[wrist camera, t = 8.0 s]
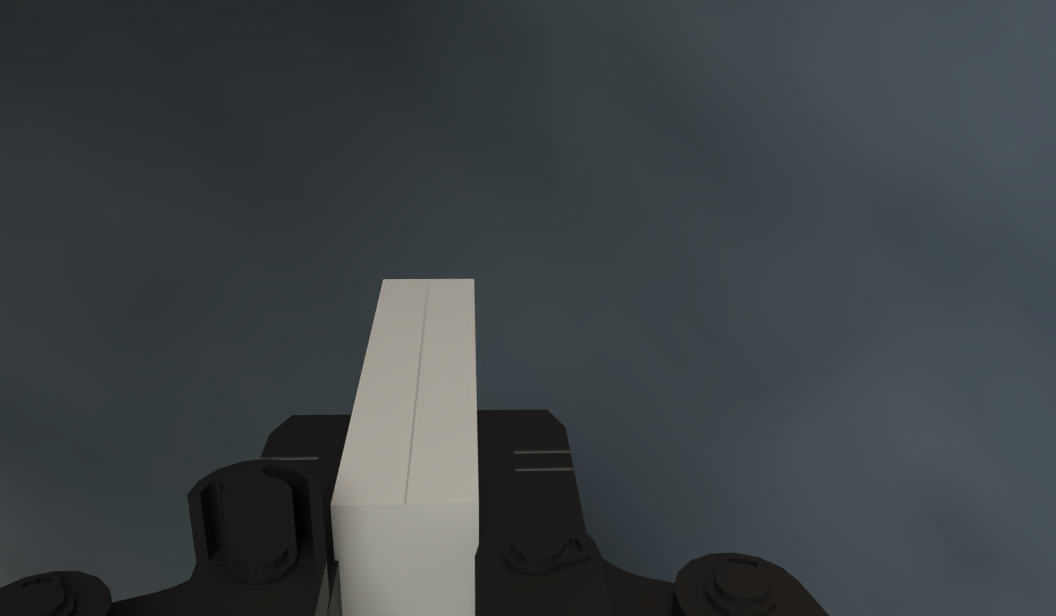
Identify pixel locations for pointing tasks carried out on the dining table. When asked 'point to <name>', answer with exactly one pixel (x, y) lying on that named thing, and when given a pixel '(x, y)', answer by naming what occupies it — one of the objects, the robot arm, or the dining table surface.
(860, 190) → the dining table surface
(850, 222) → the dining table surface
